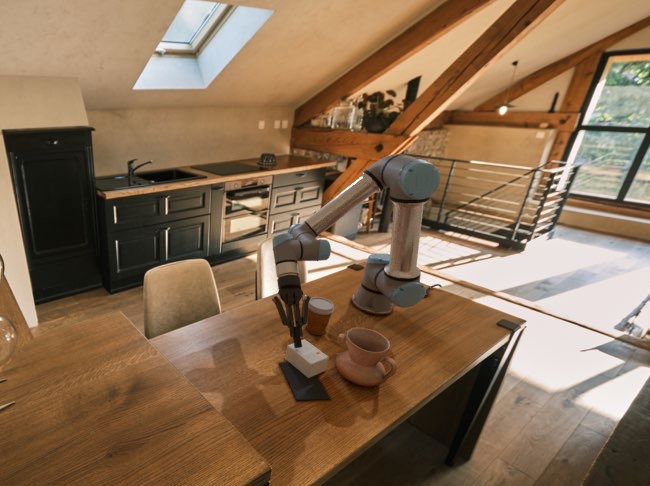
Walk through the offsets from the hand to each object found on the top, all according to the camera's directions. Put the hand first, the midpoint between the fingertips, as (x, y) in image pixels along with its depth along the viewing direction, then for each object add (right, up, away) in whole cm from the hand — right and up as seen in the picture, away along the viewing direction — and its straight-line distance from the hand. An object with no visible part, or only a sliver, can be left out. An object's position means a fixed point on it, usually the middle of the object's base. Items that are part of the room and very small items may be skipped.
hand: (298, 347), depth 123 cm
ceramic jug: (+19, -9, -1) cm, 21 cm away
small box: (+1, -2, +6) cm, 6 cm away
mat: (0, -9, -4) cm, 10 cm away
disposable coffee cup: (+13, +1, +21) cm, 25 cm away
